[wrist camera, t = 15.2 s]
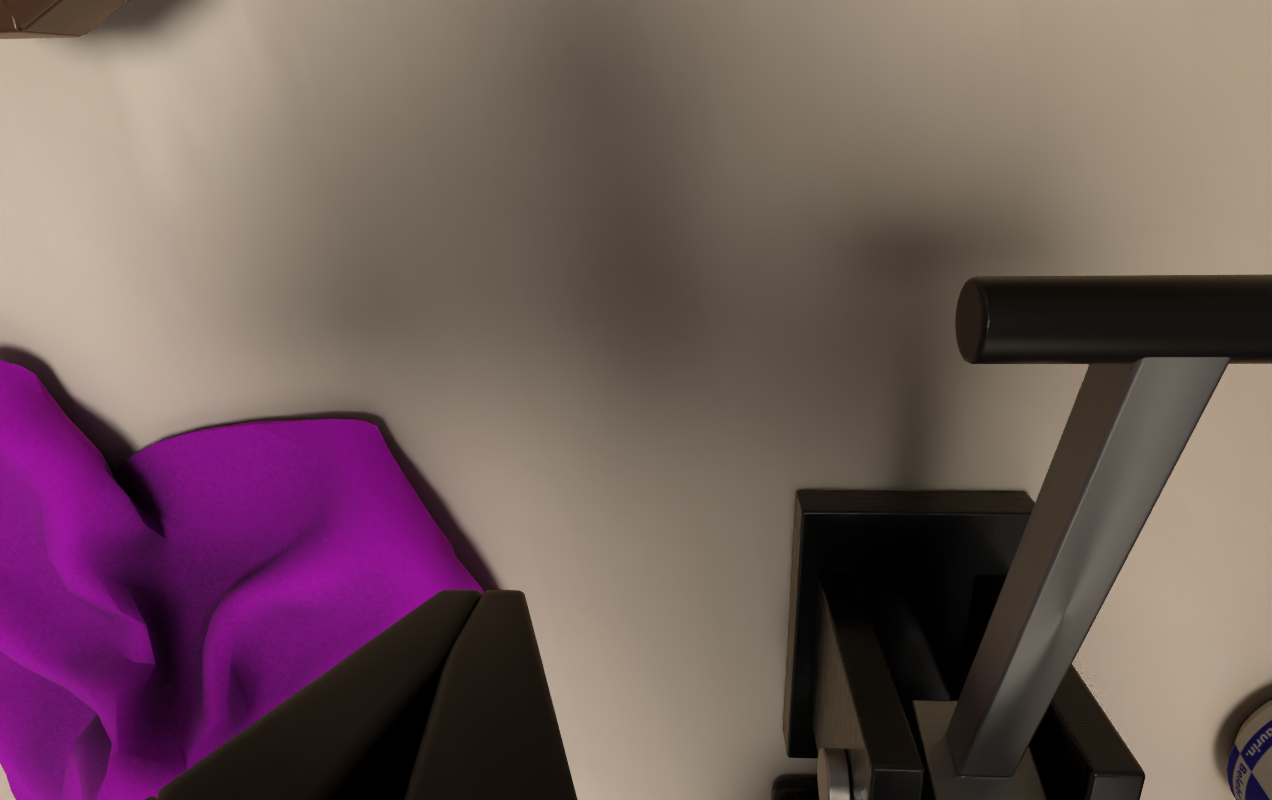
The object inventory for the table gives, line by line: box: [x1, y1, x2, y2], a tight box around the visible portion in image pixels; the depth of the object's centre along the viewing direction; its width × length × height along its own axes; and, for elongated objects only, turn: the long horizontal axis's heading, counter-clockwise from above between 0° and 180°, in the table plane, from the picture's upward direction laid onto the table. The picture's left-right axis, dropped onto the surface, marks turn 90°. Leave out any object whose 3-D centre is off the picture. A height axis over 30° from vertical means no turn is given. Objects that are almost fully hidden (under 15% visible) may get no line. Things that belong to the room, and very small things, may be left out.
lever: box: [907, 275, 1272, 800], centre depth 14 cm, size 14×5×2 cm, turn 1°
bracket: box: [783, 491, 1145, 800], centre depth 20 cm, size 8×6×8 cm
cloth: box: [0, 359, 484, 800], centre depth 23 cm, size 22×19×6 cm
